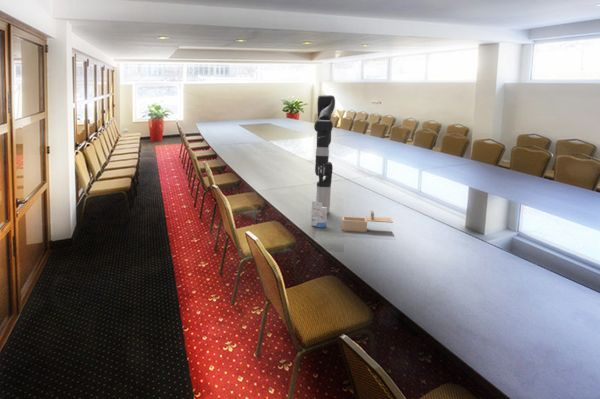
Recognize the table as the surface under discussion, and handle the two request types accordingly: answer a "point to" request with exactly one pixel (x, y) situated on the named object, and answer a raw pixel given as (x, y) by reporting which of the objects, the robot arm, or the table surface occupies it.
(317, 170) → the robot arm
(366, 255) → the table surface
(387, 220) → the lid
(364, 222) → the open wooden box
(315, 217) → the ink box
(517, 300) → the table surface
